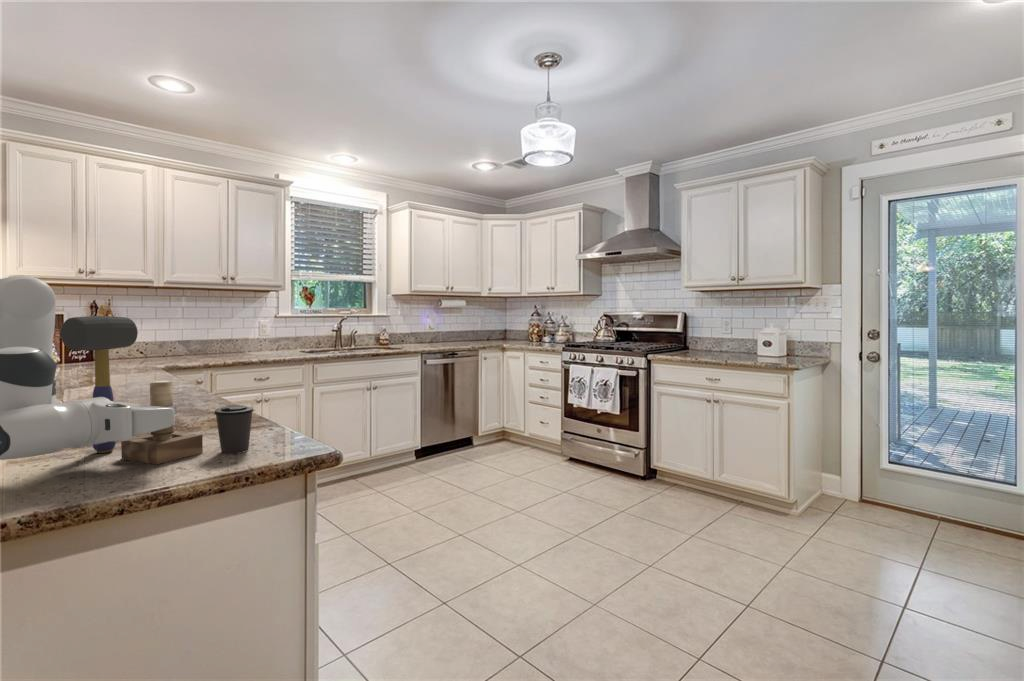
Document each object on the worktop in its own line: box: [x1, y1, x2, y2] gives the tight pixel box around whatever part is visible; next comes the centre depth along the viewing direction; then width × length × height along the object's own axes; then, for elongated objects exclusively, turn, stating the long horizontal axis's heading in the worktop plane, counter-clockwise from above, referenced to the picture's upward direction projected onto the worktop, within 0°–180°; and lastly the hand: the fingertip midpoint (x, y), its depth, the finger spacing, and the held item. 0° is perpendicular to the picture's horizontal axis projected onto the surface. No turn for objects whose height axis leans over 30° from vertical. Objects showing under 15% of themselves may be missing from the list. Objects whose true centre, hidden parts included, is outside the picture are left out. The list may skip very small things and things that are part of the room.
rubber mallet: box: [60, 315, 139, 454], centre depth 114 cm, size 12×8×30 cm, turn 167°
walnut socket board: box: [120, 430, 204, 465], centre depth 112 cm, size 11×10×4 cm
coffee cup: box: [213, 404, 255, 454], centre depth 116 cm, size 8×8×10 cm
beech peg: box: [149, 380, 175, 441], centre depth 111 cm, size 4×4×15 cm
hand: (165, 409), depth 112 cm, fingers closed on beech peg, 4 cm apart
